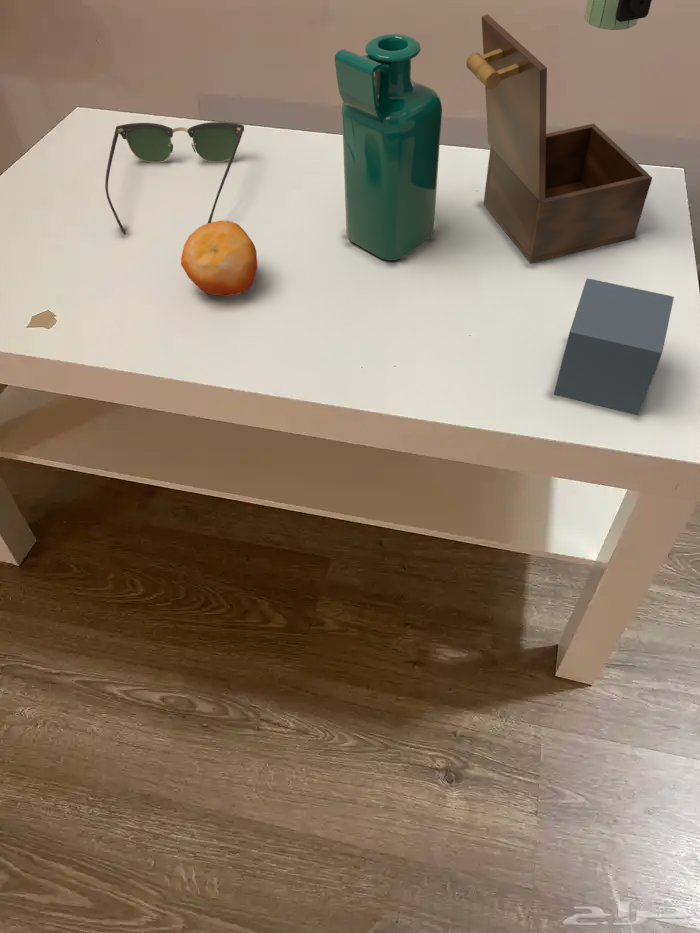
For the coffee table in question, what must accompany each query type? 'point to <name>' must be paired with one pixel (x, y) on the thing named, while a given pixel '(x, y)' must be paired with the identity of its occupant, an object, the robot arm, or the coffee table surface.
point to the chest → (570, 196)
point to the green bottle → (388, 147)
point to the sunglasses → (156, 145)
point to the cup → (605, 15)
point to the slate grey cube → (614, 345)
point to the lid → (514, 103)
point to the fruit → (220, 258)
